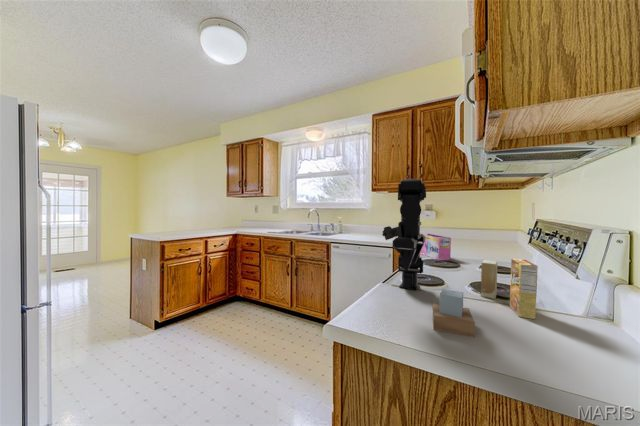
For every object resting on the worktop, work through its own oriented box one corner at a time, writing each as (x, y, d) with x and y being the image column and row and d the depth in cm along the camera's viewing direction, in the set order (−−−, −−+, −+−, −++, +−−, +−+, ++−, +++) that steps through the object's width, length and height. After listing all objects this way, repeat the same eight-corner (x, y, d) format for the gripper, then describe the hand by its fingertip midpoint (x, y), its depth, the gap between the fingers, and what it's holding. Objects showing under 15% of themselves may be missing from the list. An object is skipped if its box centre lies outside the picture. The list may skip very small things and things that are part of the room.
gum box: (417, 253, 172) (417, 233, 172) (428, 253, 173) (428, 233, 173) (438, 260, 148) (439, 237, 148) (451, 260, 149) (451, 237, 149)
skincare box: (482, 291, 93) (483, 259, 93) (496, 294, 90) (497, 260, 90) (480, 296, 88) (481, 262, 88) (495, 299, 85) (496, 263, 85)
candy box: (508, 306, 80) (510, 258, 79) (525, 308, 78) (526, 259, 78) (518, 317, 72) (519, 264, 71) (537, 319, 70) (538, 265, 70)
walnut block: (432, 317, 72) (432, 303, 72) (468, 322, 69) (468, 308, 69) (433, 331, 64) (433, 315, 64) (474, 338, 60) (474, 322, 60)
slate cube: (442, 306, 70) (442, 288, 70) (463, 310, 67) (463, 292, 67) (439, 312, 66) (439, 294, 65) (461, 317, 63) (461, 298, 63)
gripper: (393, 217, 92) (393, 259, 93) (376, 219, 77) (375, 269, 77) (425, 218, 86) (425, 262, 87) (414, 220, 71) (413, 275, 71)
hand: (409, 267), depth 81 cm, fingers open, 9 cm apart
